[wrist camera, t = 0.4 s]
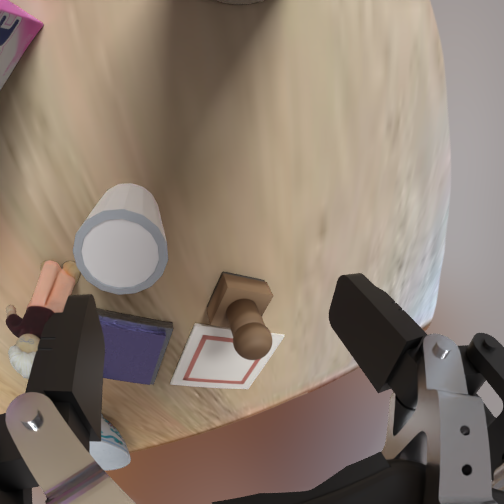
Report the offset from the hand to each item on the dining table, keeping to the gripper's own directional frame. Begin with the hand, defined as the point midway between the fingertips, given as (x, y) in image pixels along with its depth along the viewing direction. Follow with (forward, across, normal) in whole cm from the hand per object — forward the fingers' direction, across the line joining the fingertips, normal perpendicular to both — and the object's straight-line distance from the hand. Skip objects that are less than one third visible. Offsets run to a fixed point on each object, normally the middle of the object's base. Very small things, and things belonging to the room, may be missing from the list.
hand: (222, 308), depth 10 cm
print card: (+20, -5, +25) cm, 32 cm away
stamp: (+19, -6, +13) cm, 24 cm away
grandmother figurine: (+19, +13, +9) cm, 25 cm away
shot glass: (+18, +5, +4) cm, 19 cm away
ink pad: (+19, +7, +21) cm, 29 cm away
